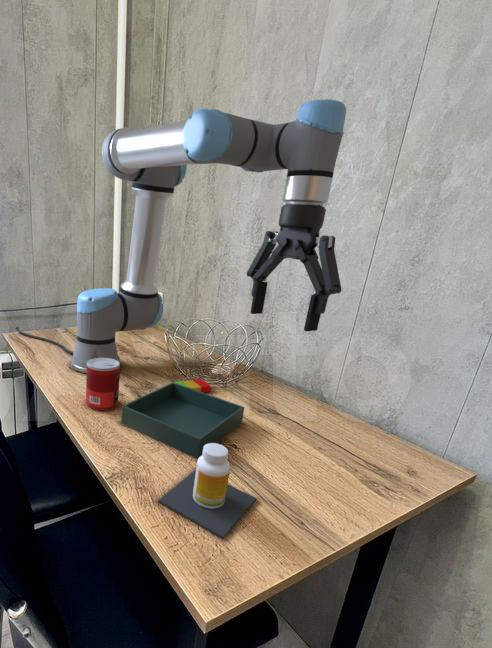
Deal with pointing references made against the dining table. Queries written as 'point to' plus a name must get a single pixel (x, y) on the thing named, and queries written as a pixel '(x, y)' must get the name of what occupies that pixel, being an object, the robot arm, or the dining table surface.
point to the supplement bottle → (211, 476)
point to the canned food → (102, 383)
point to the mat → (209, 519)
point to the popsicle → (196, 385)
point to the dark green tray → (182, 417)
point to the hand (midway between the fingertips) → (281, 321)
